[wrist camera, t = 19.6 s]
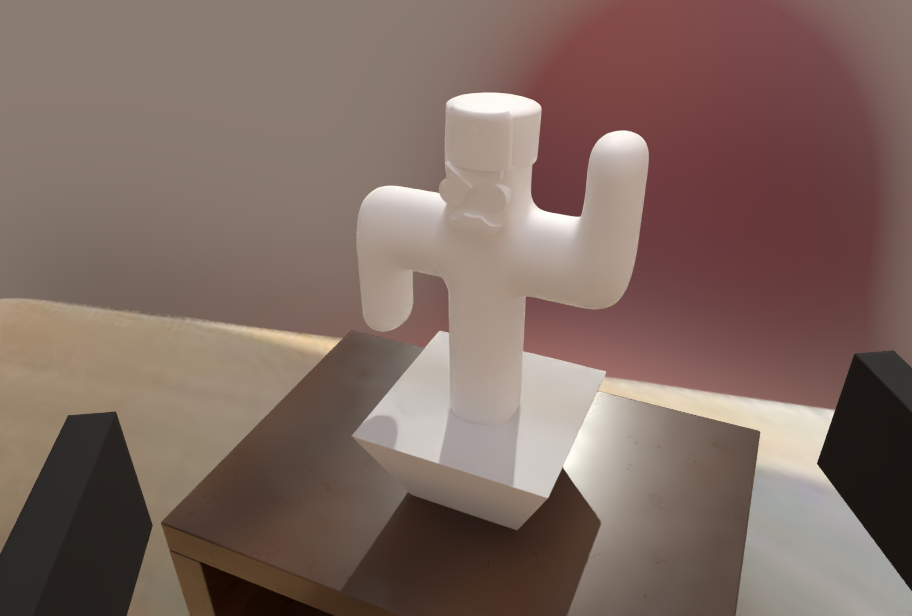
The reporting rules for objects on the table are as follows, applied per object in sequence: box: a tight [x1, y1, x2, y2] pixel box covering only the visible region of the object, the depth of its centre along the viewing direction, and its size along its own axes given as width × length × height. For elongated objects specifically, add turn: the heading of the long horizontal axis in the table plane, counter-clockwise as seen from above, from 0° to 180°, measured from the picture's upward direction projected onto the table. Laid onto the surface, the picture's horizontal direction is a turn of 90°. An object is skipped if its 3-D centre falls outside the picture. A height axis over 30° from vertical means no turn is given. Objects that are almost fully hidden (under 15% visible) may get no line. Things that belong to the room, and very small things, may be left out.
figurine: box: [352, 93, 649, 530], centre depth 26 cm, size 7×9×15 cm
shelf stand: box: [161, 330, 760, 616], centre depth 32 cm, size 20×14×10 cm
